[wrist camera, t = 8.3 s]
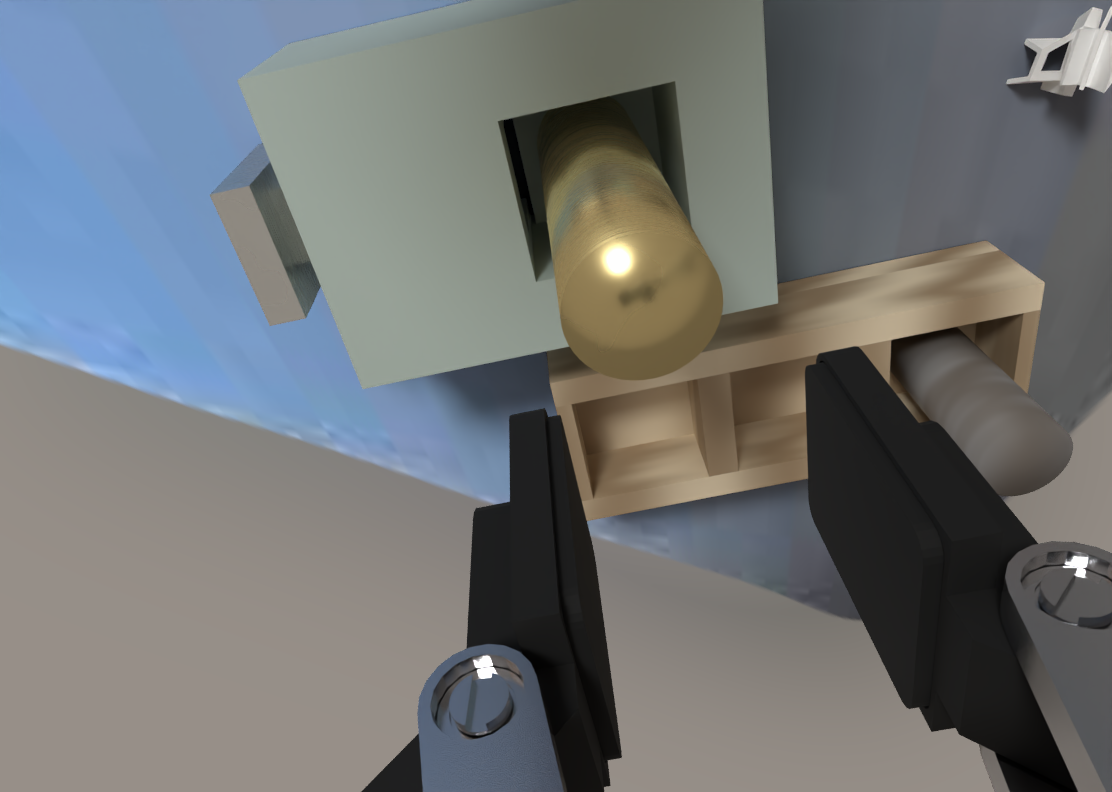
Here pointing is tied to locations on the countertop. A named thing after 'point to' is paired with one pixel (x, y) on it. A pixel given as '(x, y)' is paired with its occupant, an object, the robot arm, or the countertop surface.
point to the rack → (779, 384)
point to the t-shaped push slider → (267, 239)
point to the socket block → (503, 161)
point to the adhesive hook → (1075, 57)
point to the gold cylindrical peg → (622, 247)
